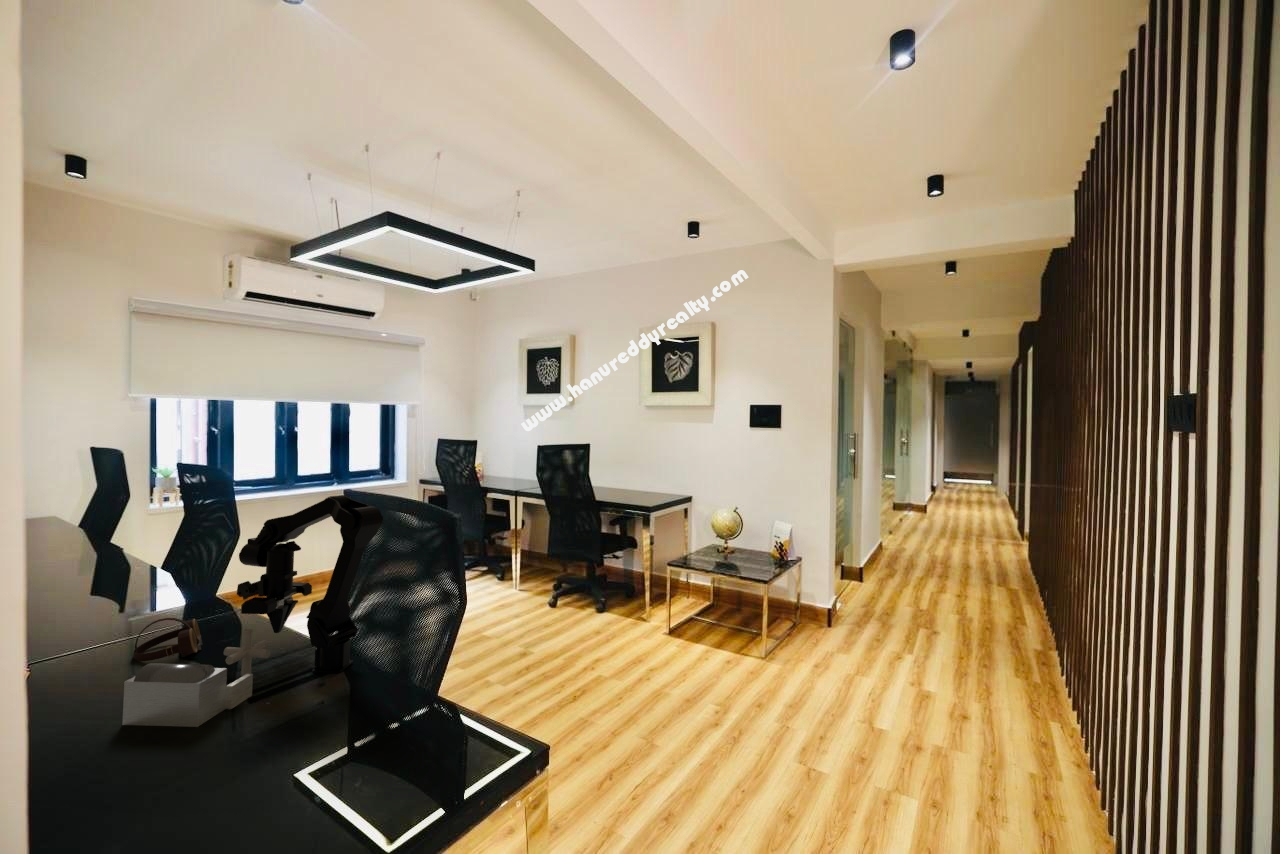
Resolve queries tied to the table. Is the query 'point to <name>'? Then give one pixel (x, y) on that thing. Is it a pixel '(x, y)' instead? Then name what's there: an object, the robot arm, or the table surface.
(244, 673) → the pipe connector
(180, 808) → the table surface
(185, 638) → the goggles
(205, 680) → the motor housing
